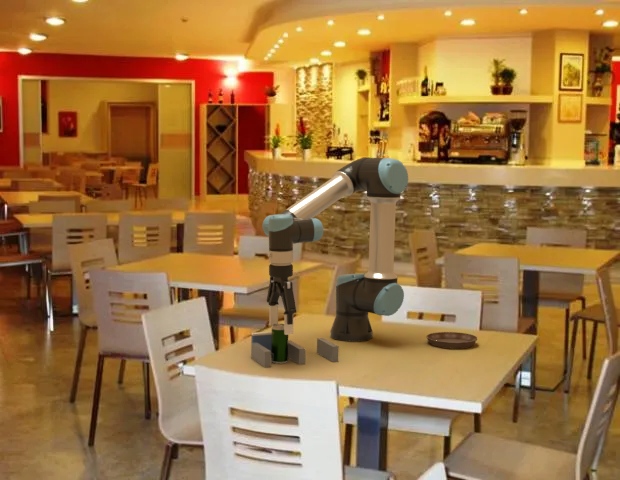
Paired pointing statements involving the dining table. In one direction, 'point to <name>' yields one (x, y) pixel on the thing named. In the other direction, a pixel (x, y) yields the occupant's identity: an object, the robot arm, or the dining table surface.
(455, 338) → the plant saucer
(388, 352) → the dining table surface
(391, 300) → the robot arm
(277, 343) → the beer can
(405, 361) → the dining table surface
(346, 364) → the dining table surface
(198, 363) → the dining table surface
